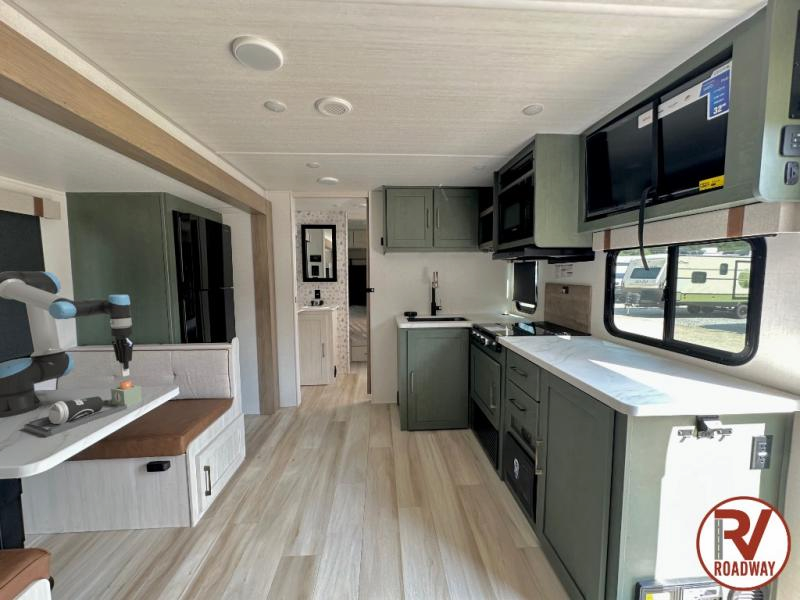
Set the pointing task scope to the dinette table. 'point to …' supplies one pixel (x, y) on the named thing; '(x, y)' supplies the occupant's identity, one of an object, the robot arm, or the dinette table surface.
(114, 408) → the gray rectangular frame
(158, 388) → the dinette table surface
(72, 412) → the coffee cup
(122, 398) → the cabinet
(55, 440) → the dinette table surface
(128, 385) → the egg
